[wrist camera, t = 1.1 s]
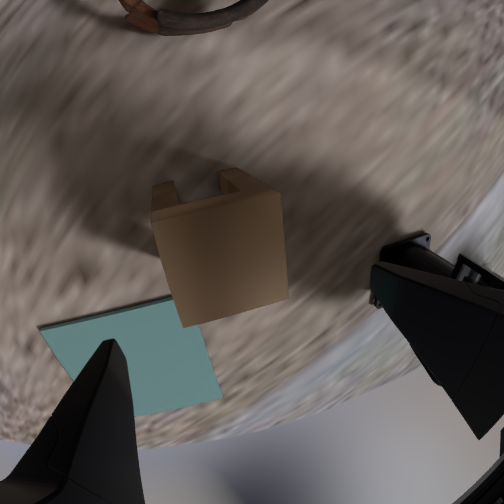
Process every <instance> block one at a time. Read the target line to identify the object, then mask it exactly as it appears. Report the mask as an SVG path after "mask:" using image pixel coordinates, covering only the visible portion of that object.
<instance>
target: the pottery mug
mask: <svg viewBox="0 0 504 504" xmlns="http://www.w3.org/2000/svg"><path fill="white" fill-rule="evenodd" d="M267 1H268V0H240V1H238V2H237V3H235V4H233V5H231V6H228V7H226V8H223V9H220V10H215V11H211V12H205V13H196V14H190V13H179V12H173V11H170V10H166V9H160V10H159V11H157V10H155V9H153V8H151V7H150V6H148V5H147V4H146V3H145V2H144V1H143V0H119V2H120V3H121V5H122V6H123V7H124V8H125V10H126V11H127V12H129V14H127V15H126V16H125V20H127V21H128V22H130V23H131V24H133V25H135V26H137V27H139V28H141V29H143V30H146V31H148V32H152V33H153V32H157V33H158V34H159V35H163V36H180V35H192V34H201V33H207V32H211V31H215V30H219V29H222V28H226V27H228V26H230V25H231V24H232V22H234V21H238V20H243V19H245V18H247V17H248V16H250V15H251V14H253V13H254V12H256V11H257V10H258V9H259V8H261V7H262V6H263V5H264V4H265V3H266V2H267Z"/></svg>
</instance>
